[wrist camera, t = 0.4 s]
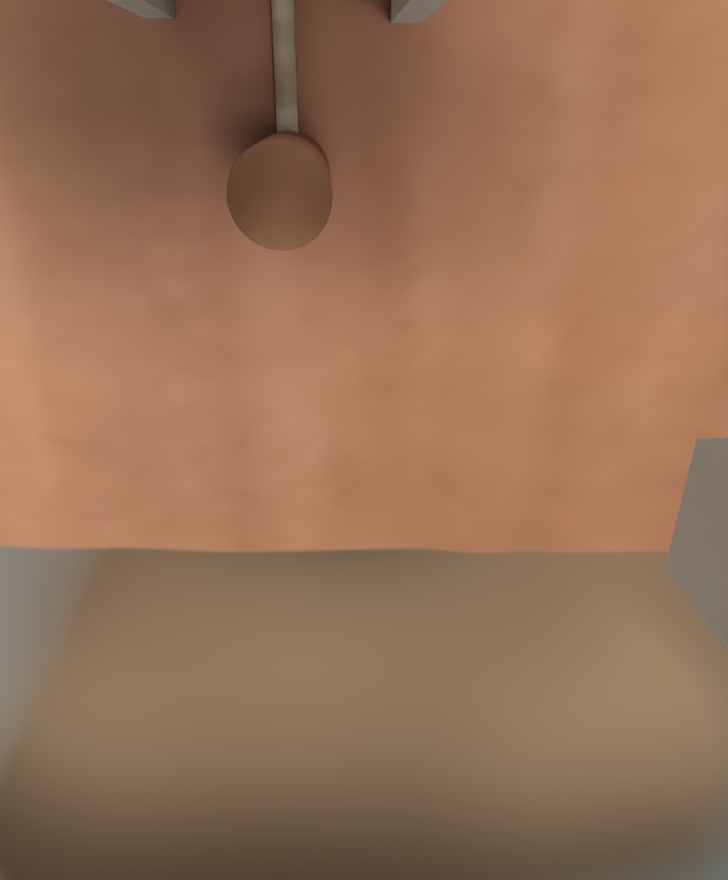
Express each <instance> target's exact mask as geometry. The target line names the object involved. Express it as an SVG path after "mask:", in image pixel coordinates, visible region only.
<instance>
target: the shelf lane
mask: <svg viewBox="0 0 728 880" xmlns="http://www.w3.org/2000/svg"><path fill="white" fill-rule="evenodd" d="M107 1H109V2H111V3H113V4H115V5H117V6H120V7H122V8H124V9H126V10H128V11H130V12H132V13H134V14H136V15H138V16H140V17H142V18H145V19H175V10H174V0H107ZM447 1H448V0H391V23H421V22H422V21H424V20H425V19H426V18H427V17H429V16H430V15H431V14H432V13H434V12H435V11H436V10H437V9H438V8H440V7H441V6H442V5H443V4H445V3H446V2H447Z"/></svg>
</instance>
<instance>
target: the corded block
mask: <svg viewBox="0 0 728 880" xmlns="http://www.w3.org/2000/svg"><path fill="white" fill-rule="evenodd" d="M271 9H272V31H273V54H274V77H275V100H276V123H277V132H276V133H274V134H271V135H269V136H268V137H266V138H264V139H263V140H261V141H260V142H258V143H256V144H255V145H253V146H251V147H250V148H248V149H247V150H246V151H244V152H243V153H242V154H241V155H240V157H239V158H238V159H237V160H236V162H235V164H234V165H233V167H232V169H231V172H230V174H229V178H228V182H227V202H228V207H229V211H230V213H231V216H232V218H233V220H234V222H235V223H236V225H237V226H238V228H239V229H240V230H241V231H242V233H243V234H244V235H245V236H247V237H248V238H249V239H250V240H252V241H253V242H255V243H256V244H258V245H260V246H262V247H265V248H268V249H273V250H291V249H295V248H298V247H301V246H303V245H305V244H307V243H309V242H310V241H311V240H313V239H314V238H315V237H316V236H317V235H318V234H319V233H320V232H321V230H322V229H323V227H324V226H325V224H326V222H327V220H328V218H329V215H330V212H331V206H332V188H331V180H330V172H329V166H328V162H327V159H326V156H325V154H324V152H323V151H322V149H321V148H320V147H319V145H318V144H317V143H316V142H315V141H314V140H313V139H311V138H310V137H308V136H306V135H305V134H302V133H300V132H298V106H297V73H296V41H295V9H294V0H271Z"/></svg>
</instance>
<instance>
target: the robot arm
mask: <svg viewBox="0 0 728 880" xmlns="http://www.w3.org/2000/svg"><path fill="white" fill-rule="evenodd" d="M665 568H666V570H667V571H668V573H669V574H670V575H671V577H672V578H673V579H674V581H675V582H676V583H677V585H678V586H679V587H680V588H681V590H682V591H683V593H684V594H685V595H686V597H687V598H688V599H689V601H690V602H691V603H692V605H693V606H694V607H695V609H696V610H697V612H698V613H699V614H700V615H701V617H702V618H703V620H704V621H705V622H706V624H707V625H708V626H709V628H710V629H711V630H712V632H713V633H714V634H715V636H716V637H717V638H718V640H719V641H720V642H721V644H722V645H723V646H724V648H725V649H726V650H727V652H728V438H706V439H697V440H696V444H695V448H694V452H693V456H692V460H691V464H690V468H689V472H688V476H687V480H686V484H685V488H684V492H683V497H682V501H681V505H680V509H679V513H678V517H677V521H676V525H675V529H674V533H673V537H672V541H671V545H670V550H669V554H668V558H667V562H666V566H665Z"/></svg>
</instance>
